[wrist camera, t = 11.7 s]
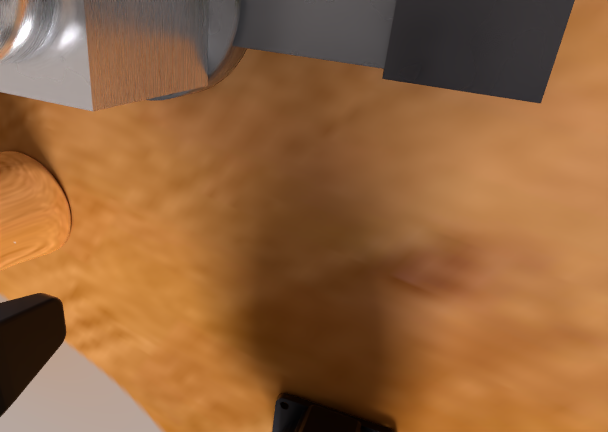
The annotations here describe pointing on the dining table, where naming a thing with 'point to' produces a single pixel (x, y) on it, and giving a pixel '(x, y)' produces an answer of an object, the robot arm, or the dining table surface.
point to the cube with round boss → (102, 50)
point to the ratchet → (400, 39)
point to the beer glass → (29, 210)
